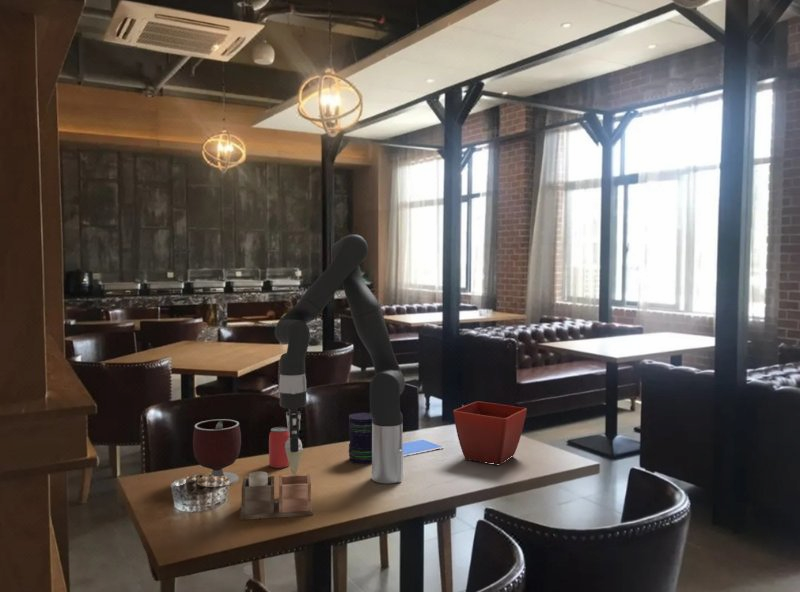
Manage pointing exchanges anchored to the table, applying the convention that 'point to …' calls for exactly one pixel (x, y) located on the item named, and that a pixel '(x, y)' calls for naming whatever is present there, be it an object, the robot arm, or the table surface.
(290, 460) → the ice cream cone
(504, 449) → the plant pot
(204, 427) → the mate gourd
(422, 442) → the tablet computer
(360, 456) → the storage jar
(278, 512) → the condiment caddy
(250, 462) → the table surface
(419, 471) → the table surface
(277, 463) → the beer can
